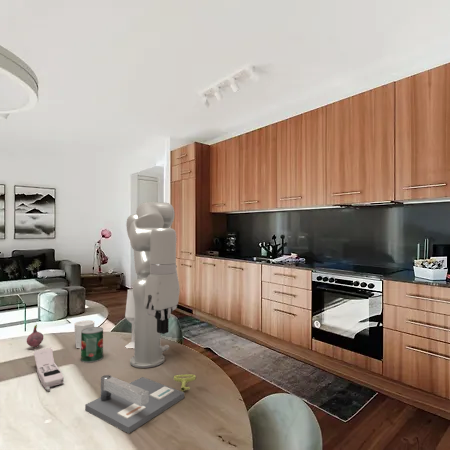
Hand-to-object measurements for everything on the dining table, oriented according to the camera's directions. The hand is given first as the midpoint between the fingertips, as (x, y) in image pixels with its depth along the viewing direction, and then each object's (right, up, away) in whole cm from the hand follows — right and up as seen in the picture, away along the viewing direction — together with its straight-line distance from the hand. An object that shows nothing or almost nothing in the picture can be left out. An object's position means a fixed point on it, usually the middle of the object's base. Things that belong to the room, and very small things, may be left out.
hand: (162, 332), depth 91 cm
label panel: (-7, -19, -3) cm, 20 cm away
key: (+5, -20, +9) cm, 23 cm away
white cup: (-42, -21, +42) cm, 63 cm away
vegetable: (-62, -21, +40) cm, 76 cm away
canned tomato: (-33, -20, +29) cm, 48 cm away
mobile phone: (-42, -20, +14) cm, 48 cm away
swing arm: (-9, -17, -8) cm, 21 cm away
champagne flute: (-21, -21, +43) cm, 52 cm away
